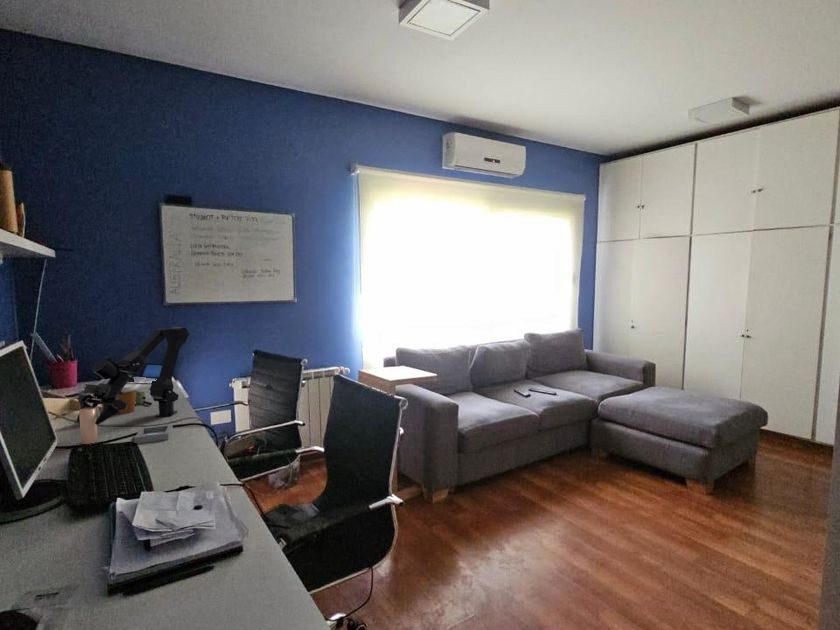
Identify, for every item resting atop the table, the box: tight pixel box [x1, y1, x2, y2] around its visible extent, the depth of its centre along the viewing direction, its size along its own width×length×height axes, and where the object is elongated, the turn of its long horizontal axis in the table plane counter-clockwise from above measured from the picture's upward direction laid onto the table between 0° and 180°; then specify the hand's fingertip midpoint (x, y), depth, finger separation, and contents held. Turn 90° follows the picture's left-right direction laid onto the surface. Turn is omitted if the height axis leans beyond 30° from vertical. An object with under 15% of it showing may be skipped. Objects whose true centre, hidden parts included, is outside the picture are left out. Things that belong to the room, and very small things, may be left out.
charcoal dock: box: [134, 423, 174, 444], centre depth 160 cm, size 11×11×3 cm
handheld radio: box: [135, 388, 153, 406], centre depth 204 cm, size 7×3×25 cm
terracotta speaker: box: [78, 407, 99, 445], centre depth 154 cm, size 5×5×12 cm
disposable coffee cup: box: [117, 382, 138, 415], centre depth 189 cm, size 10×10×12 cm
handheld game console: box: [138, 362, 163, 380], centre depth 245 cm, size 16×13×9 cm
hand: (86, 423), depth 154 cm, fingers open, 9 cm apart
